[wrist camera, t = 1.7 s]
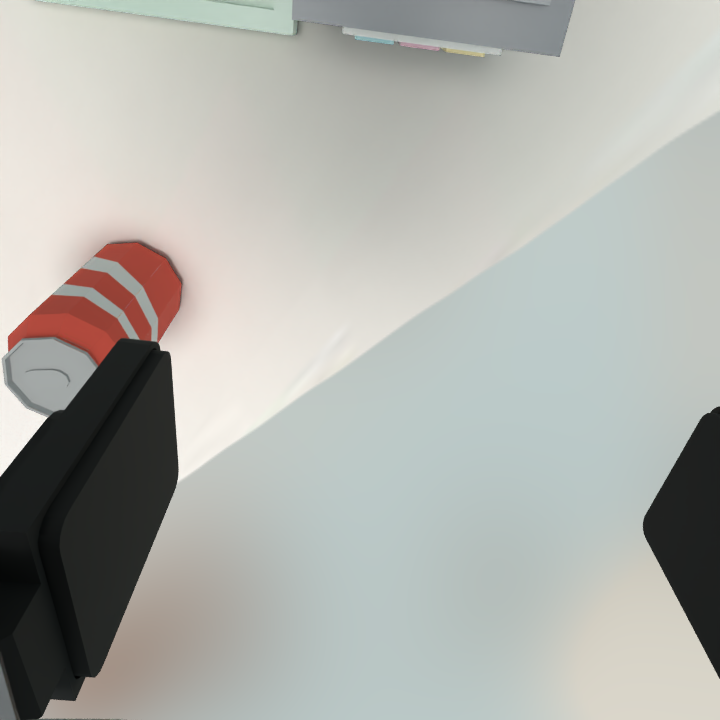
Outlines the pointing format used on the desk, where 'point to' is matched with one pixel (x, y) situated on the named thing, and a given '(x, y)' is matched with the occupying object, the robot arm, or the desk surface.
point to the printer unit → (448, 23)
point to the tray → (207, 12)
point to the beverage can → (89, 324)
